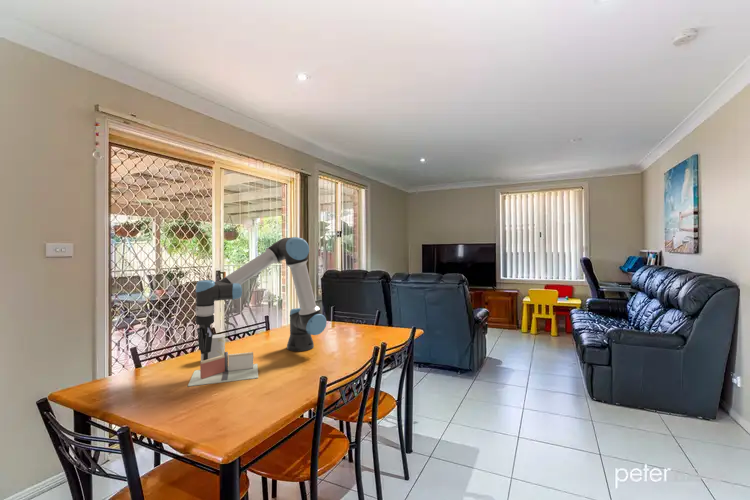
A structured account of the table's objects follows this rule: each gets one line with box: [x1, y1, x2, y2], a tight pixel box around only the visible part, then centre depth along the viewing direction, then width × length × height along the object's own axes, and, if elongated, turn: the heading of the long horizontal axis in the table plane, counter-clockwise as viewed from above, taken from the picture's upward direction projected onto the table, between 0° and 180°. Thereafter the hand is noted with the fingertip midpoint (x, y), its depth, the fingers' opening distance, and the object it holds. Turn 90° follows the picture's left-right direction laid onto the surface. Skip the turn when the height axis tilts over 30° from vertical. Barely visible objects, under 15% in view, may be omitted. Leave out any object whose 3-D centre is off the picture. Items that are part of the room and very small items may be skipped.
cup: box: [208, 333, 226, 359], centre depth 183 cm, size 8×8×12 cm
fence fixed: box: [224, 351, 254, 371], centre depth 166 cm, size 13×2×9 cm, turn 110°
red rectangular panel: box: [199, 355, 225, 379], centre depth 158 cm, size 11×2×7 cm, turn 147°
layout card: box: [187, 363, 259, 388], centre depth 160 cm, size 28×20×1 cm
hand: (204, 366), depth 158 cm, fingers closed
